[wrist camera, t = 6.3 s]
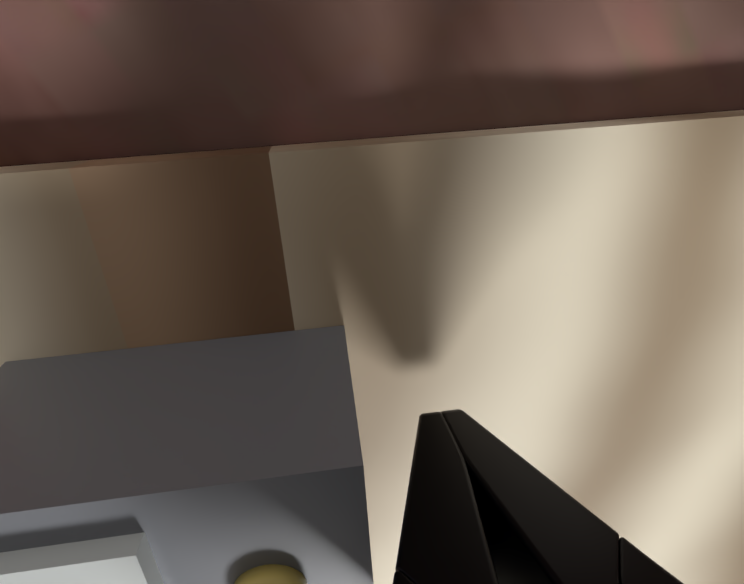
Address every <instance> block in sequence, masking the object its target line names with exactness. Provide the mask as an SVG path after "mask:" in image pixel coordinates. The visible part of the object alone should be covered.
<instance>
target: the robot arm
mask: <svg viewBox="0 0 744 584" xmlns="http://www.w3.org/2000/svg"><path fill="white" fill-rule="evenodd" d="M395 570H396V572H395V573H394V578H393V584H684V583H682V582H681V581H680V580H678V579H677V578H676V577H674V576H673V575H672V574H671V573H669V572H668V571H667V570H665V569H664V568H663V567H661V566H660V565H659V564H657V563H656V562H655V561H653V560H652V559H651V558H649V557H648V556H647V555H645V554H644V553H643V552H642V551H640V550H639V549H638V548H637V547H635V546H634V545H633V544H632V543H630V542H629V541H628V540H626V539H625V538H624V537H621V538H619V534H618V533H617V532H616V531H615V530H614V529H612V528H611V527H610V526H608V525H607V524H606V523H605V522H603V521H602V520H601V519H600V518H598V517H597V516H596V515H595V514H593V513H592V512H591V511H589V510H588V509H587V508H586V507H584V506H583V505H582V504H581V503H579V502H578V501H577V500H576V499H574V498H573V497H572V496H570V495H569V494H568V493H567V492H565V491H564V490H563V489H562V488H560V487H559V486H558V485H557V484H555V483H554V482H553V481H552V480H550V479H549V478H548V477H546V476H545V475H544V474H543V473H541V472H540V471H539V470H538V469H536V468H535V467H534V466H533V465H531V464H530V463H529V462H527V461H526V460H525V459H524V458H522V457H521V456H520V455H519V454H517V453H516V452H515V451H514V450H512V449H511V448H510V447H508V446H507V445H506V444H505V443H503V442H502V441H501V440H500V439H498V438H497V437H496V436H495V435H493V434H492V433H491V432H489V431H488V430H487V429H486V428H484V427H483V426H482V425H481V424H479V423H478V422H477V421H476V420H474V419H473V418H472V417H471V416H469V415H468V414H467V413H465V412H464V411H463V410H460V409H454V410H446V411H441V412H430V413H422V414H421V415H420V416H419V421H418V427H417V434H416V440H415V446H414V453H413V459H412V465H411V472H410V478H409V485H408V491H407V497H406V504H405V510H404V516H403V523H402V529H401V535H400V542H399V548H398V555H397V561H396V567H395Z"/></svg>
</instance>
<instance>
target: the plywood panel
mask: <svg viewBox="0 0 744 584" xmlns="http://www.w3.org/2000/svg"><path fill="white" fill-rule="evenodd" d="M341 325H344V328H345V335H346V342H347V350H348V357H349V364H350V371H351V379H352V386H353V393H354V400H355V407H356V415H357V422H358V429H359V436H360V444H361V451H362V458H363V465H364V477H365V489H366V500H367V512H368V524H369V536H370V547H371V559H372V571H373V583H374V584H393V578H394V573H395V572H396V570H395V567H396V561H397V555H398V548H399V542H400V535H401V529H402V523H403V516H404V510H405V504H406V497H407V491H408V485H409V478H410V472H411V465H412V459H413V453H414V446H415V440H416V434H417V427H418V421H419V416H420V415H421V414H422V413H430V412H441V411H446V410H454V409H460V410H463V411H464V412H465V413H467V414H468V415H469V416H471V417H472V418H473V419H474V420H476V421H477V422H478V423H479V424H481V425H482V426H483V427H484V428H486V429H487V430H488V431H489V432H491V433H492V434H493V435H495V436H496V437H497V438H498V439H500V440H501V441H502V442H503V443H505V444H506V445H507V446H508V447H510V448H511V449H512V450H514V451H515V452H516V453H517V454H519V455H520V456H521V457H522V458H524V459H525V460H526V461H527V462H529V463H530V464H531V465H533V466H534V467H535V468H536V469H538V470H539V471H540V472H541V473H543V474H544V475H545V476H546V477H548V478H549V479H550V480H552V481H553V482H554V483H555V484H557V485H558V486H559V487H560V488H562V489H563V490H564V491H565V492H567V493H568V494H569V495H570V496H572V497H573V498H574V499H576V500H577V501H578V502H579V503H581V504H582V505H583V506H584V507H586V508H587V509H588V510H589V511H591V512H592V513H593V514H595V515H596V516H597V517H598V518H600V519H601V520H602V521H603V522H605V523H606V524H607V525H608V526H610V527H611V528H612V529H614V530H615V531H616V532H617V533H618V534H619V538H621V537H624V538H625V539H626V540H628V541H629V542H630V543H632V544H633V545H634V546H635V547H637V548H638V549H639V550H640V551H642V552H643V553H644V554H645V555H647V556H648V557H649V558H651V559H652V560H653V561H655V562H656V563H657V564H659V565H660V566H661V567H663V568H664V569H665V570H667V571H668V572H669V573H671V574H672V575H673V576H674V577H676V578H677V579H678V580H680V581H681V582H682V583H684V584H744V110H735V111H722V112H709V113H696V114H683V115H670V116H657V117H644V118H631V119H618V120H605V121H592V122H578V123H565V124H552V125H539V126H526V127H513V128H500V129H487V130H474V131H461V132H448V133H435V134H422V135H409V136H396V137H383V138H370V139H357V140H344V141H331V142H318V143H305V144H292V145H279V146H266V147H253V148H240V149H227V150H213V151H200V152H187V153H174V154H161V155H148V156H135V157H122V158H109V159H96V160H83V161H70V162H57V163H44V164H31V165H18V166H5V167H0V367H1V366H2V365H3V364H4V363H5V362H7V361H17V360H26V359H35V358H45V357H54V356H63V355H72V354H82V353H91V352H100V351H109V350H119V349H128V348H137V347H146V346H156V345H165V344H174V343H184V342H193V341H202V340H211V339H221V338H230V337H239V336H248V335H258V334H267V333H276V332H285V331H295V330H304V329H313V328H322V327H332V326H341Z"/></svg>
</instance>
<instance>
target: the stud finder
mask: <svg viewBox="0 0 744 584" xmlns="http://www.w3.org/2000/svg"><path fill="white" fill-rule="evenodd" d="M0 584H374V583H373V571H372V559H371V547H370V536H369V524H368V512H367V500H366V489H365V477H364V465H363V458H362V451H361V444H360V436H359V429H358V422H357V415H356V407H355V400H354V393H353V386H352V379H351V371H350V364H349V357H348V350H347V342H346V335H345V328H344V325H341V326H332V327H322V328H313V329H304V330H295V331H285V332H276V333H267V334H258V335H248V336H239V337H230V338H221V339H211V340H202V341H193V342H184V343H174V344H165V345H156V346H146V347H137V348H128V349H119V350H109V351H100V352H91V353H82V354H72V355H63V356H54V357H45V358H35V359H26V360H17V361H7V362H5V363H4V364H3V365H2V366H1V367H0Z"/></svg>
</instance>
